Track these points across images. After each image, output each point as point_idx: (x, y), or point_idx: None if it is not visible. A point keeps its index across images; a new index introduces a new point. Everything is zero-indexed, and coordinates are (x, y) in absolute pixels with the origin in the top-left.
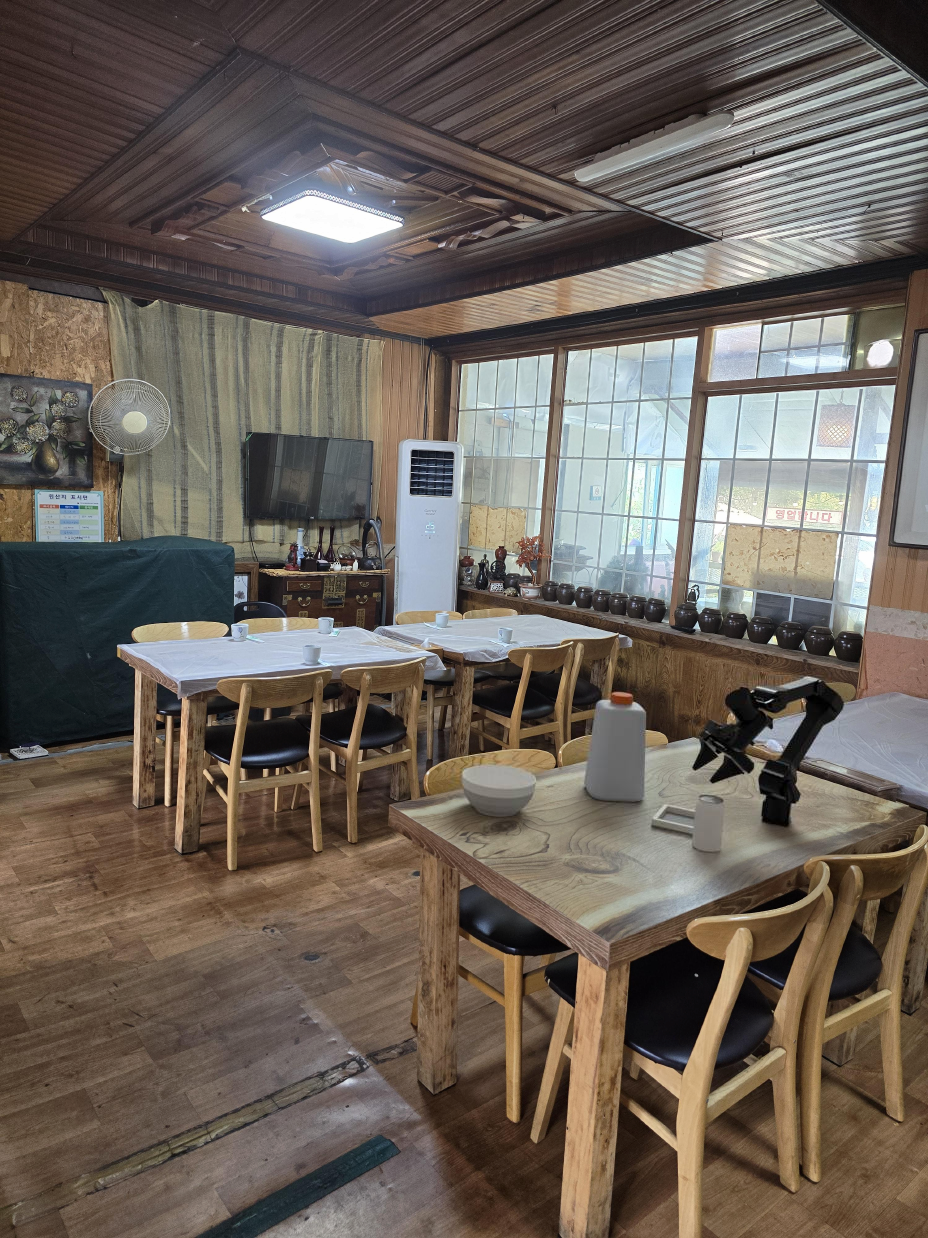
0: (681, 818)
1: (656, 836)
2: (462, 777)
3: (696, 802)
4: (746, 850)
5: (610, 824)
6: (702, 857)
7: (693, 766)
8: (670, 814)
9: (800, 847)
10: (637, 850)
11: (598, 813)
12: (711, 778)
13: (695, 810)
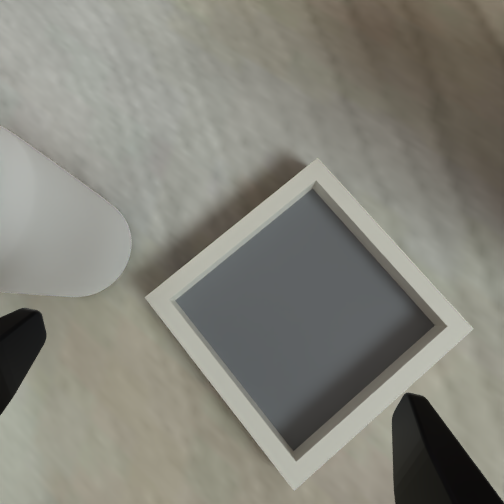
0: (347, 335)
1: (225, 135)
2: None
3: (8, 131)
4: None
5: (365, 40)
6: None
7: (417, 406)
8: (399, 316)
9: None
10: (142, 8)
11: (475, 54)
12: (7, 321)
13: (32, 146)
